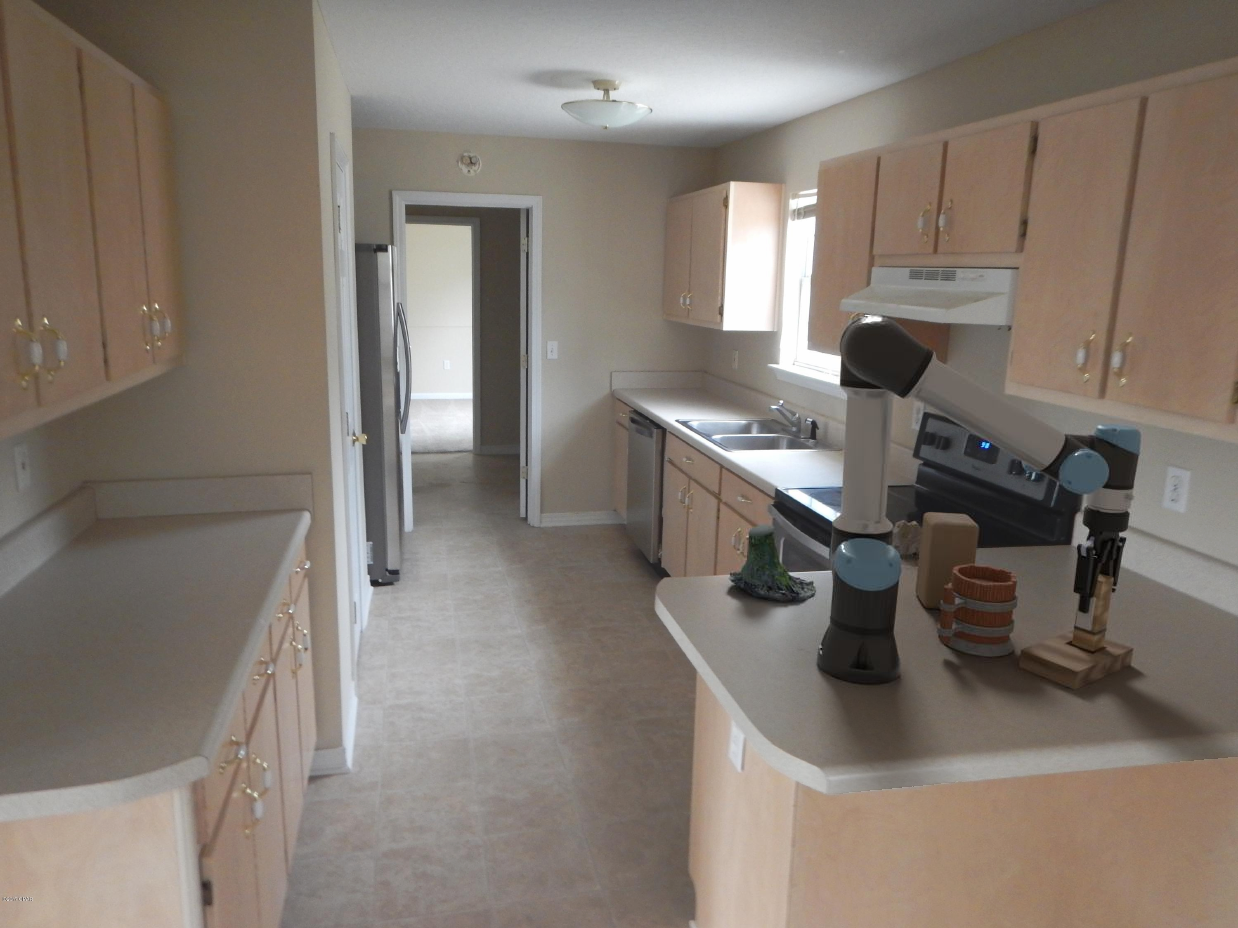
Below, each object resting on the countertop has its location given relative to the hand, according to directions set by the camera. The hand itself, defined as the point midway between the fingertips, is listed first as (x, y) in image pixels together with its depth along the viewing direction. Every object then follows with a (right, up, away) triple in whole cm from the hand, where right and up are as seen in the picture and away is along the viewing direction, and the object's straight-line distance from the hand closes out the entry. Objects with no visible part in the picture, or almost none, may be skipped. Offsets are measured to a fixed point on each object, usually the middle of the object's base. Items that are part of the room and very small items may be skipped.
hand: (1089, 624), depth 171 cm
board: (-3, -8, 0) cm, 8 cm away
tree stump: (-55, +1, +36) cm, 66 cm away
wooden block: (-17, -1, +31) cm, 36 cm away
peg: (0, -4, +1) cm, 4 cm away
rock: (-13, +6, +63) cm, 65 cm away
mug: (-20, -6, +8) cm, 23 cm away
